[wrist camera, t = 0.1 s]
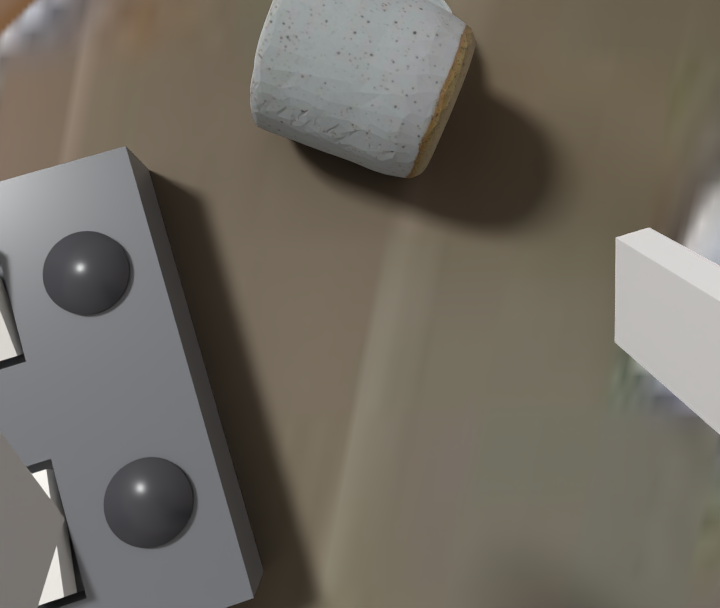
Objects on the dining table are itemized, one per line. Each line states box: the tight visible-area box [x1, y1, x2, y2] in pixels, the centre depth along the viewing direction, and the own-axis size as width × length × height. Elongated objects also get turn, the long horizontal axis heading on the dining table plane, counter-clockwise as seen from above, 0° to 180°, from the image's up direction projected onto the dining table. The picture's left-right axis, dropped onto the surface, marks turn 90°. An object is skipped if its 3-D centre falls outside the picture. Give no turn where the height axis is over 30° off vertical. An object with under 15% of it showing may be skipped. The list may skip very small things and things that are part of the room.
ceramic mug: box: [250, 0, 476, 178], centre depth 25 cm, size 11×8×8 cm
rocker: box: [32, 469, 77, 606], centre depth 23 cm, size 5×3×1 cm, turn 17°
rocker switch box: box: [0, 146, 264, 608], centre depth 25 cm, size 20×11×3 cm, turn 18°
